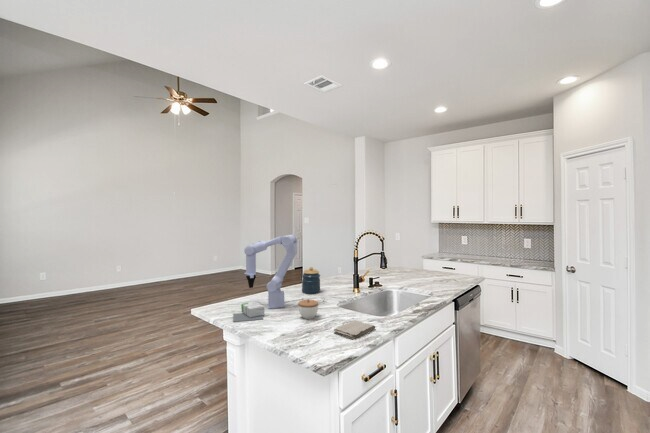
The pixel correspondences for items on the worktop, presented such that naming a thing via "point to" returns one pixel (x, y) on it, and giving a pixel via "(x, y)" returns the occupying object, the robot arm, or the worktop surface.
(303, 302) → the lidded jar
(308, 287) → the canister
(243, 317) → the mat
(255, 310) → the ink box
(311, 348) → the worktop surface
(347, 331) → the washcloth
